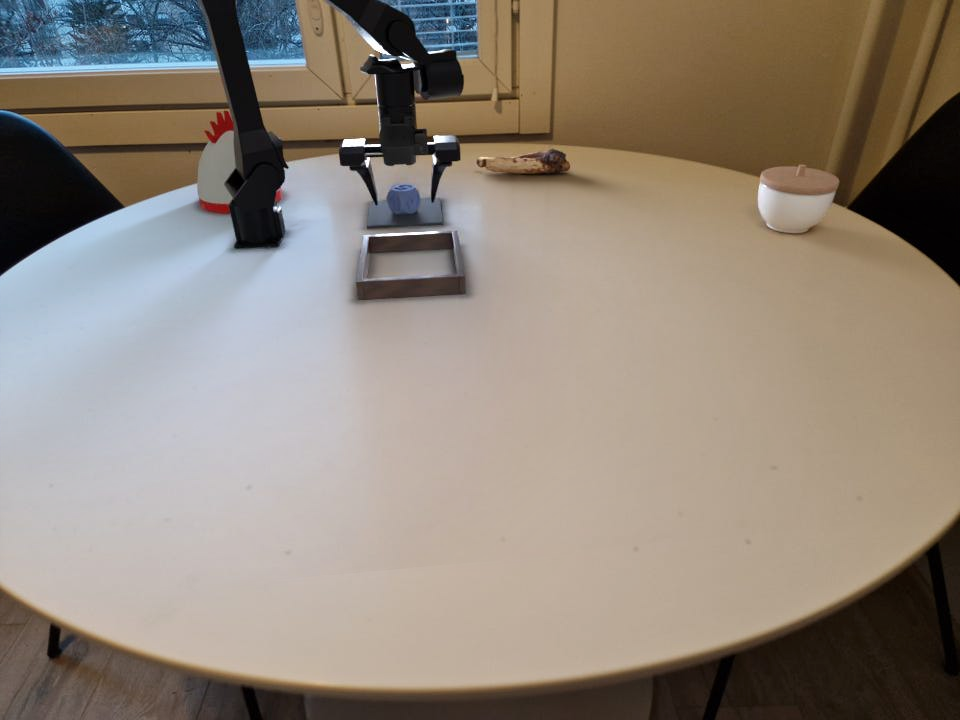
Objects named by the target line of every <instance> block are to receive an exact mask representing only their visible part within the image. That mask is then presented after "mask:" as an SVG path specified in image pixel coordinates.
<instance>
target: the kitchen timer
mask: <svg viewBox="0 0 960 720" xmlns="http://www.w3.org/2000/svg"><path fill="white" fill-rule="evenodd" d="M209 124H210V126H211V129H212V131H213V134H212V132H210V131H209V130H205V129H204V133H205V135H206V137H207V139H208V140H209V141H208V142H207V144H206V145H205V147H204V148H203V151H202V153H201V156H200V159H199V161H198V167H197V180H196V181H197V182H196V186H197V187H196V189H197V195H198V196H197V197H198V200H199V204H200V207H201V209H202V210H205V211H206V212H210V213H215V214H230V211H229V206H228V205H229V203H230V202H231V201H232V199H233V198H232V196H231V195H230V193H229V192H228V190H227V188H226V187H225V185H224V183H225V181H226V180H227V178H228V177H229V176H230V174H231V173H232V172H233V170H234V169H235V167H236V165H235V155H234V126H233V120H232V117H231V113H230V111H229V110H225V109H224V110H223V114H222V112H219V111H216V121H213V120H209ZM282 197H283V192H282V186H281V187H280V189H278V190H277V192H276V203H278V202H279V201H281V200H282Z"/></svg>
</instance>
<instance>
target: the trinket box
mask: <svg viewBox="0 0 960 720" xmlns="http://www.w3.org/2000/svg"><path fill="white" fill-rule="evenodd" d="M759 177H760V178H759V184H758V185H759V186H758V190H757V207H758V212H759V214H760V216H761V217H762V219H763V220H764V222H765V225H766V227H768V228H769V229H771V230H773V231H776V232H780V233H784V234H803V233H807V232H808V231H809V230H810V228H812V227H814V226H815V225H817V224H819V223H820V222H821V221H822V220H823V219H824V217H826V215H827V214H828V212H829V210H830V209H831V206H832V204H833V202H834V199H835V197H836V193H837V190H838V188H839V186H840V179H839V178H838V176H836V175H834V174H832V173H830V172H828V171H825V170H821V169H817V168H811V167H807V165H806V164H803V163H802V164H798V166H789V165H786V166H784V165H783V166H774V167H769V168H765V169H764V170H763V171H761V174H760V176H759Z"/></svg>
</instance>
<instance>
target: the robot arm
mask: <svg viewBox="0 0 960 720" xmlns="http://www.w3.org/2000/svg"><path fill="white" fill-rule="evenodd" d="M196 1H197V3H198V5H199V7H200V10H201V12H202V13H203V16H204V19H205V23H206V27H207V30H208V31H207V32H208V35H209V39H210V42H211V46H212V49H213V53H214V57H215V60H216V65H217V68H218V71H219V75H220V79H221V83H222V86H223V90H224V94H225V97H226V98H225V99H226V102H227V105H228V109H229V114H230V116H231V119H232V121H233V126H234V155H235V165H236V167H235V169H234V170H233V172H232V173H231V174H230V176H229V177H228V178H227V180H226V181H225V183H224V185H225V187H226V188H227V190H228V192H229V193H230V195H231V196H232V198H233V199H232V201H231V202H230V203H229V205H228V206H229V211H230V213H229V214H230V219H231V223H232V227H233V231H234V232H233V233H234V236H235V242H234V244H233V249H236V250H241V249H258V248H260V249H261V248H276V247H279V246H280V244H281V242H282V240H283V238H284V237H285V234H286V233H287V231H286V227H285V226H286V225H285V221H284V216H283V211H282V207H281V206H278V204H277V203H278V202H277V203H276V192H277V190H278V189H280V187H281V188H282V186H283V184H285V181H286V171H285V169H286V170H289V168H290V166H289V165H288V163H287V162H286V159H285V156H284V145H283V140H282V139H281V138H280V137H279V135H277V134H276V133H275V132H274V131H272V130H270V131H267V128H266V126H265V124H264V120H263V116H262V112H261V108H260V103H259V100H258V95H257V91H256V88H255V84H254V79H253V76H252V75H253V74H252V71H251V67H250V63H249V59H248V58H249V57H248V55H247V51H246V47H245V42H244V39H243V34H242V29H241V26H240V22H239V18H238V12H237V0H196ZM323 1H324V2H325V3H326V4H328V5H329V6H330V7H332V9H334V10H335V11H337V12H338V13H340V14H341V16H343V17H344V18H345V19H346V20H347V21H348V22H349V23H350V24H351V26H352V27H353V28H354V29H355V31H356V32H357V33H358V34H359V35H360V37H361V38H363V39H364V40H365V41H366V43H367V44H368V45H370V47H372V48H373V50H375V51H378V52H380V53H382V54H386V55H389V56H392V57H396V58H388V59H379V58H378V56H376V55H374V54H369V55H368V57H367V59H366V61H365V62H364V63H363V64H362V65H361V66H360V68H359V71H360V72H361V73H364V74H366V75H369V76H374V79H375V81H374V82H375V90H376V100H377V111H378V113H377V114H378V121H379V123H378V124H379V134H378V137H379V138H378V139H379V144H367V140H366V138H350V139H348V138H347V139H343V140H342V142H341V143H340V145H339V149H338V158H339V165H340V167H341V166H342V167H348V168H349V171H351V172H356V173H357V174H358V175H359V176H360V177H361V179H362V181H363V182H364V184H365V186H366V188H367V190H368V192H369V195H370V197H371V199H372V201H374V203H375V205H378V201H379V197H378V192H377V186H376V180H375V176H374V172H373V166H372V162H371V159H372V158H382V159H383V164H384V165H385V166H387V167H394V166H397V165H400V166H401V165H406V166H413V165H415V163H417V156H432V161H431V163H432V164H431V180H430V198H431V203H434V200H435V198H436V196H437V193H438V189H439V185H440V181H441V179H442V176H443V173H444V172H445V170H446V169H447V168H448V167H453V162H459V161H461V160H462V159H461V158H462V157H461V144H460V140H459V138H458V137H457V136H456V135H455V134H450V135H449V134H448V135H446V134H445V135H434V136H433V141H432V142H431V141H430V142H428V130H427V129H428V128H418V123H417V122H418V121H417V107H416V95H420V97H421V99H422V100H424V101H430V100H439V99H447V98H455V97H460V96H461V95H462V93H463V92H464V86H465V75H464V74H463V71H462V67H461V64H460V62H459V60H458V58H457V55H458V54H457V51H456V49H452V48H444V49H441V50H437V51H428V50H427V48H426V47H425V46H424V44H423V43H422V42H421V41H420V39H419V37H418V36H417V32H416V25H415V22H414V20H413V19H412V18H411V17H410V16H409V15H408V14H407V13H405V12H403V11H401V10H399V9H397V8H395V7H393V6H392V5H389V4H388V3H386V2H383V1H382V0H323ZM397 58H402V59H405V60H408V61H410V62H413V63H408V64H407V63H405V64H402V62H400V60H399V59H397Z"/></svg>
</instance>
